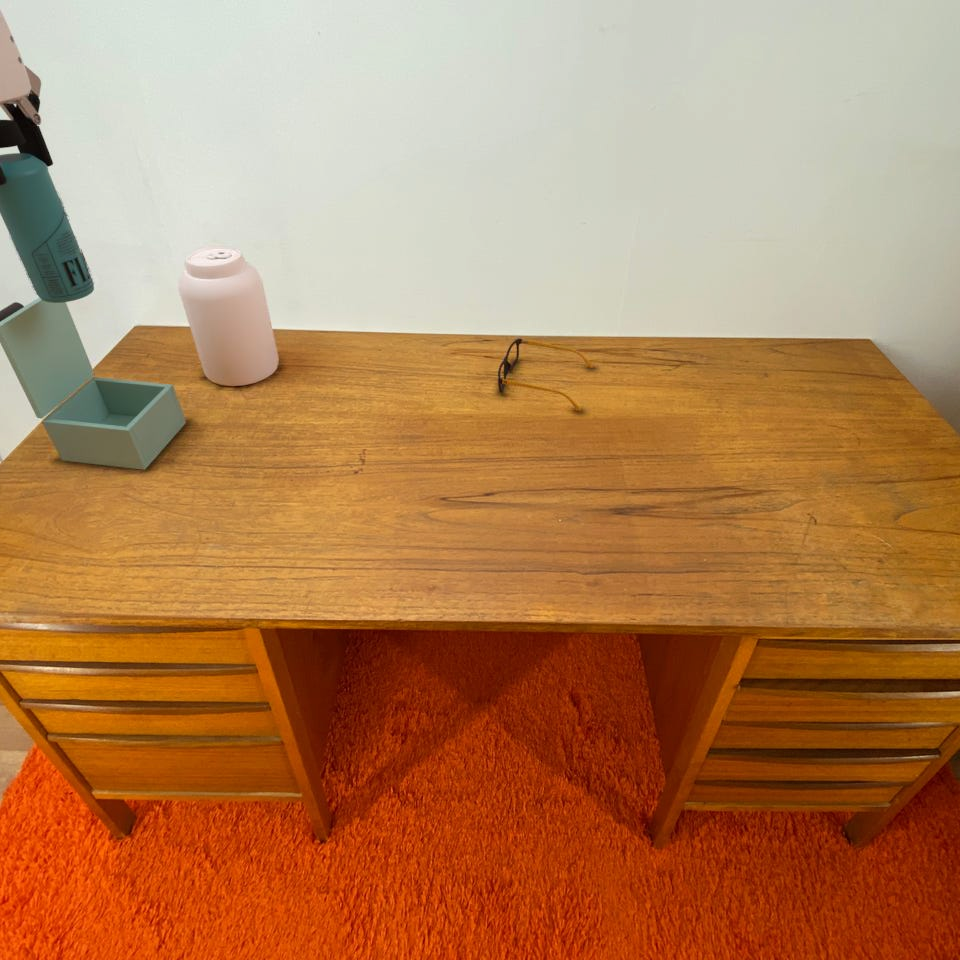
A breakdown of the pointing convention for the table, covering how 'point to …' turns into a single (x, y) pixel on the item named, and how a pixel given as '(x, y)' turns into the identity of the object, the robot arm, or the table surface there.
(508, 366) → the eyeglasses
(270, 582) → the table surface
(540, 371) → the table surface
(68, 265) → the beverage bottle
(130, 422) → the cool box
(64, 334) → the lid
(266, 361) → the can
